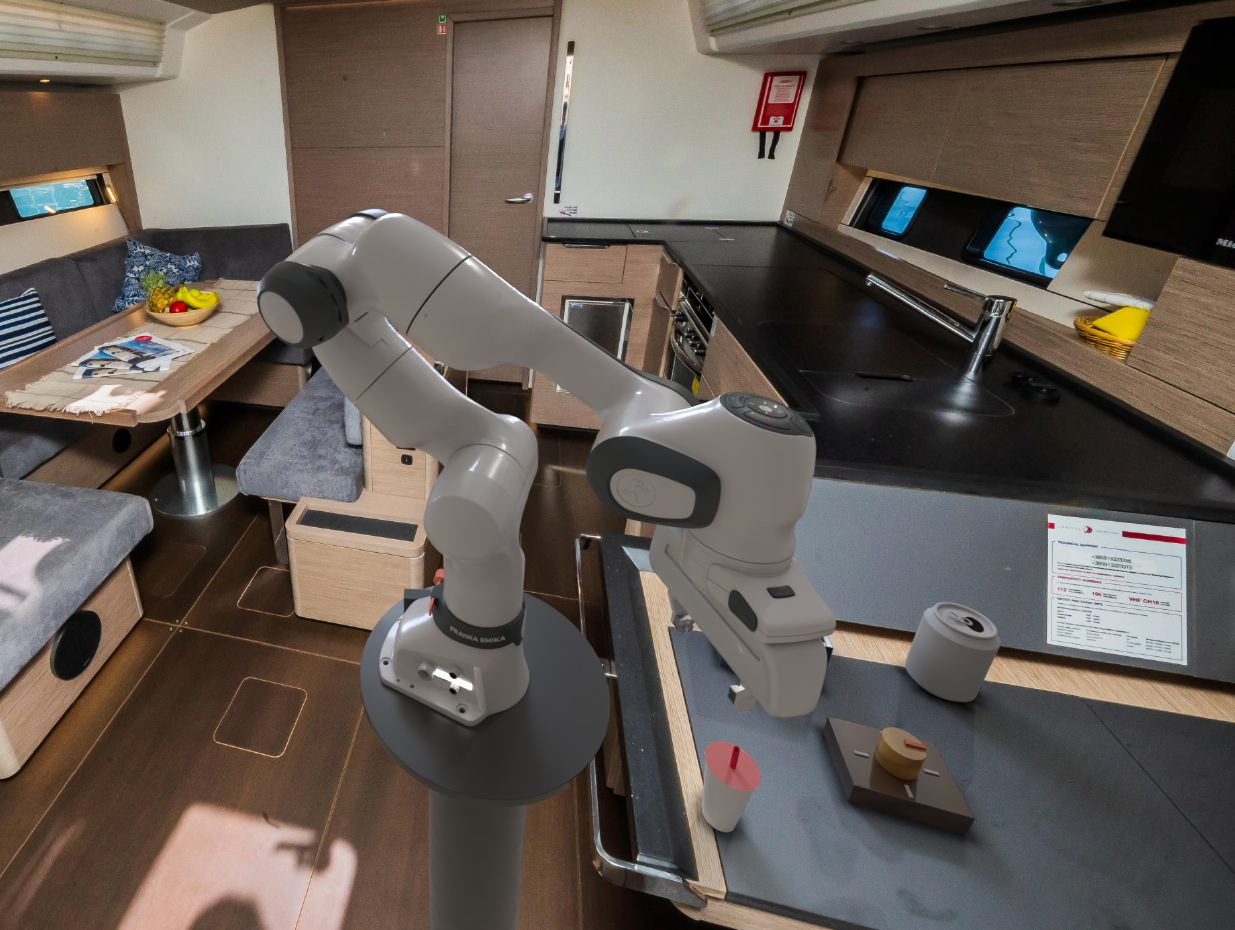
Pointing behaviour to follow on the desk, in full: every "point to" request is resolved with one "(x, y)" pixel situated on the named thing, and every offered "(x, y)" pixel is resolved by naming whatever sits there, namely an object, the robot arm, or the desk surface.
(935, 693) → the can
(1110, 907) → the desk surface
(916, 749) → the tap knob
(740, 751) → the cup
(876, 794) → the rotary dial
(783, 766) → the desk surface
